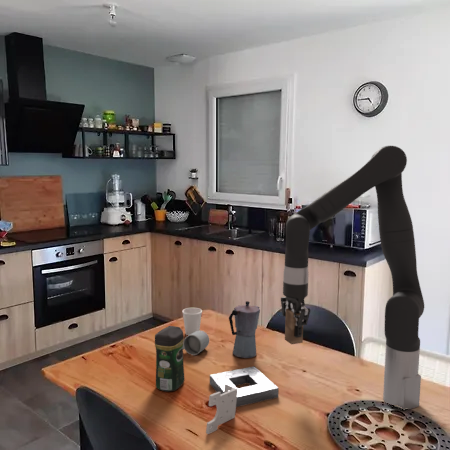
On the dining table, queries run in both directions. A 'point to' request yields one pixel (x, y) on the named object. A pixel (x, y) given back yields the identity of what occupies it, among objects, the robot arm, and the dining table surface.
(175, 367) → the coffee jar
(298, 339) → the tan square peg
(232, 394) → the bracket
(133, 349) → the dining table surface
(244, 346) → the moka pot
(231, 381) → the square hole plate
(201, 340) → the ceramic mug
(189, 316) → the dixie cup
